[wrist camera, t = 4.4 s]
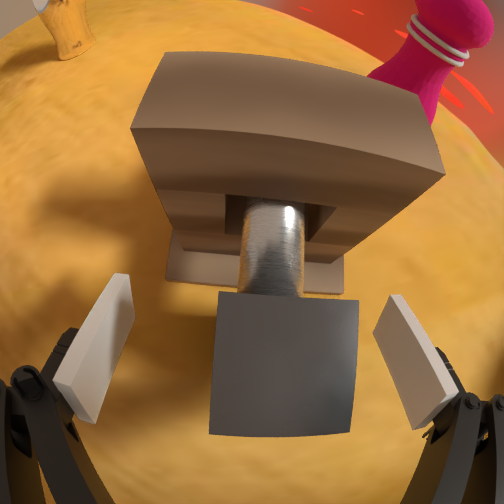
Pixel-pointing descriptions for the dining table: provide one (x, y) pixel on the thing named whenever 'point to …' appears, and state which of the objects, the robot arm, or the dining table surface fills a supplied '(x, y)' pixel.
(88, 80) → the dining table surface
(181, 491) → the dining table surface
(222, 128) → the wooden arch frame
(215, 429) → the metal rod with plate
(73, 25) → the beer glass
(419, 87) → the pepper mill
